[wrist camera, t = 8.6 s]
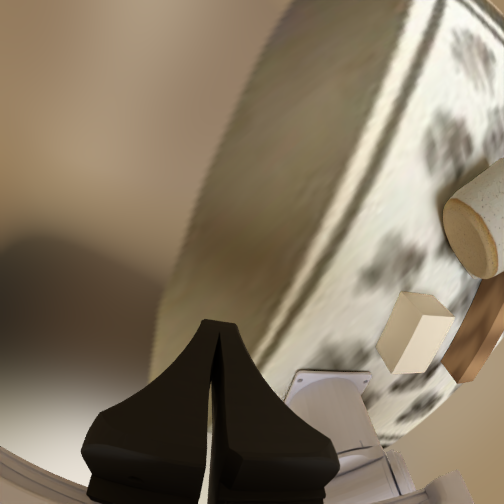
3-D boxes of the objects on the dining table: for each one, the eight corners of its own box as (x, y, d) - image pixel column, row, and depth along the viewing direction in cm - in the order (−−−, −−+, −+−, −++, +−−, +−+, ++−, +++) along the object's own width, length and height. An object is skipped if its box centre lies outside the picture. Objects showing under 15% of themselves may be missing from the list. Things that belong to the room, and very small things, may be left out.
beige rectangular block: (406, 346, 25) (424, 372, 22) (375, 346, 25) (391, 374, 21) (432, 294, 23) (455, 317, 20) (400, 290, 23) (422, 314, 19)
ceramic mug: (425, 191, 20) (492, 221, 13) (484, 149, 18) (549, 165, 11) (452, 287, 23) (500, 332, 16) (503, 243, 22) (553, 275, 15)
